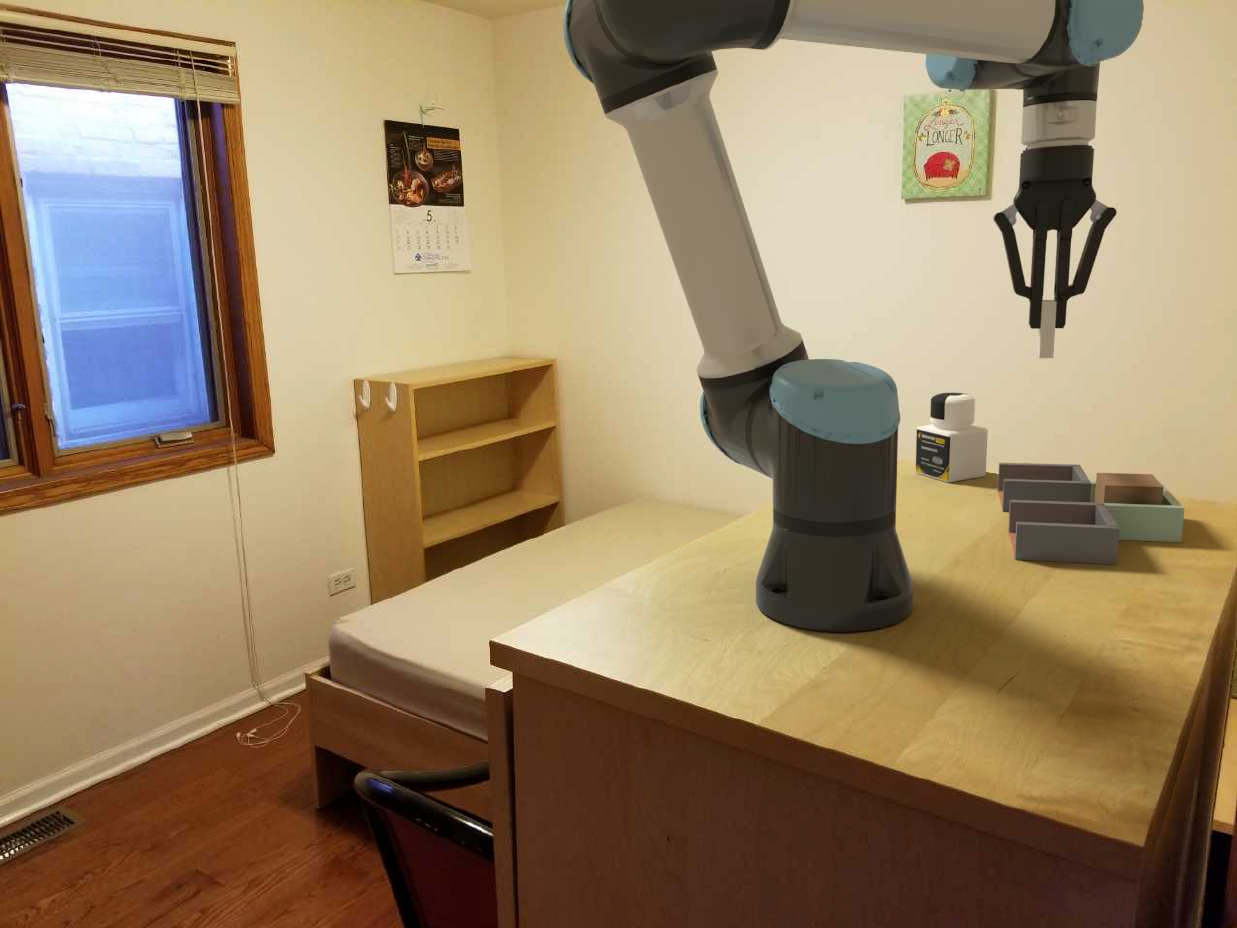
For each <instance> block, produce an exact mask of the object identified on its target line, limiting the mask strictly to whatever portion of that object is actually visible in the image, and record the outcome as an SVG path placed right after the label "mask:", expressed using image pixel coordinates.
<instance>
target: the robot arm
mask: <svg viewBox="0 0 1237 928" xmlns="http://www.w3.org/2000/svg"><path fill="white" fill-rule="evenodd" d="M1144 11H1145V7H1144V0H566V3H565V8H564V13H563V21H562V22H563V23H562V24H563V25H562V27H563V28H562V30H563V38H564V43H565V47H566V49H567V53H568V55H569V58H570V60H571V61H572V64H573V65H574V66H575V68H576V70H578V72H579V73H580V74H581V75H582V76H583V77H584V78H585V79H586V80H588V81H589V82H590V83H591V84H592V85H594V88H595V90H596V93H597V96H598V100H599V102H600V105H601V107H602V111H603V114H604V116H605V118H606V119H608V120H610V121H612V122H615V124H618V125H620V126H622V128H624V129H625V130H626V132H627V135H628V137H629V140H630V143H631V145H632V148H633V151H634V155H635V157H636V159H637V163H638V166H639V169H640V172H641V174H642V177H643V181H644V182H645V186H646V188H647V191H648V195H649V198H650V199H651V203H652V206H653V208H654V211H655V215H656V217H657V220H658V222H659V226H660V228H661V231H662V234H663V236H664V240H665V242H666V245H667V248H668V251H669V253H670V257H671V259H672V263H673V265H674V268H675V271H676V273H677V276H678V279H679V282H680V285H681V287H682V291H683V293H684V294H683V295H684V297H685V299H686V302H687V305H688V308H689V310H690V315H691V316H692V317H691V318H692V319H693V322H694V325H695V328H696V331H697V333H698V336H699V339H700V342H701V346H702V349H703V355H702V357H701V359H700V361H699V363H698V365H697V366H696V374H697V376H698V379H699V382H700V385H701V388H702V391H703V392H702V395H701V397H700V402H699V403H700V404H699V414H700V420H701V423H702V427H703V430H704V432H705V434H706V436H707V438H708V440H709V441H710V442H711V443H712V445H714V447H716V449H718V451H720V452H721V453H722V454H723V455H724V456H725V457H727V458H729V460H730V461H733V462H734V463H736V464H739V465H742V466H744V467H746V468H749V469H751V470H753V471H756V472H758V473H760V474H762V475H764V476H766V477H769V478H771V479H772V528H771V532H770V536H769V539H768V542H767V546H766V548H765V551H764V554H763V557H762V561H761V563H760V565H759V568H758V572H757V575H756V578H755V579H756V581H755V603H756V604H755V605H756V606H757V608H758V609H759V610H760V612H762V613H763V614H764V615H766V616H768V617H769V618H770V619H772V620H775V621H777V622H780V623H783V624H786V625H789V626H793V627H796V628H802V629H806V630H812V631H824V632H837V633H838V632H840V633H841V632H843V633H845V632H863V631H871V630H876V629H880V628H881V629H882V628H885V627H888V626H892V625H894V624H897V623H899V622H901V621H903V620H904V619H906V618H907V617H908V616H910V614H911V613H912V611H913V609H914V608H913V607H914V584H913V581H912V577H911V574H910V571H909V568H908V564H907V560H906V559H905V555H904V551H903V549H902V546H901V542H900V539H899V537H898V533H897V526H896V524H897V523H896V521H897V519H896V518H897V491H898V490H897V488H898V487H897V486H898V478H897V477H898V449H899V448H898V446H899V445H898V444H899V443H898V441H899V425H900V423H901V414H900V413H901V412H900V405H899V394H898V393H899V392H898V387H897V384H896V381H895V379H893V377H892V376H891V375H890V374H889V373H887V372H886V371H885V370H883V369H880V368H879V367H875V366H873V365H870V364H867V363H862V362H860V361H859V362H858V361H845V360H843V359H836V358H835V359H833V358H813V359H811V358H810V357H809V355H808V351H807V349H806V346H805V343H804V342H805V341H804V340H803V337H802V334H801V333H800V332H799V331H796V330H794V329H793V328H790V327H788V326H786V325H785V324H783V322H782V320H781V317H780V313H779V311H778V307H777V304H776V301H775V298H774V295H773V292H772V288H771V286H770V283H769V282H770V281H769V280H768V276H767V273H766V270H765V266H764V264H763V261H762V258H761V255H760V251H759V248H758V245H757V242H756V239H755V238H756V237H755V236H754V233H753V229H752V226H751V223H750V220H749V217H748V214H747V210H746V207H745V204H744V202H743V198H742V194H741V191H740V189H739V185H738V182H737V179H736V176H735V173H734V170H733V167H732V164H731V161H730V157H729V154H728V151H727V148H726V146H725V145H726V144H725V142H724V139H723V135H722V133H721V129H720V127H719V124H718V119H717V117H716V114H715V111H714V108H713V105H712V101H711V98H710V94H711V90H712V87H713V86H714V83H715V81H716V79H717V76H718V74H719V71H718V68H717V65H716V62H715V58H714V55H713V54H714V53H713V52H715V51H719V50H729V49H750V50H761V51H766V50H768V49H771V48H772V47H773V46H774V45H775V44H776V43H777V42H779V40H788V41H797V42H807V43H817V44H825V45H826V44H828V45H836V46H843V47H844V46H845V47H846V46H847V47H855V48H864V49H865V48H866V49H875V50H885V51H891V52H893V51H894V52H903V53H913V54H922V55H925V68H926V72H927V75H928V77H929V80H930V81H931V82H932V83H933V85H934V86H936V87H938V88H940V89H946V90H956V91H957V90H959V92H965V91H970V90H971V91H972V90H979V91H980V90H1017V91H1019V90H1022V97H1023V98H1022V101H1023V102H1022V118H1021V137H1020V139H1021V140H1020V143H1021V144H1022V146H1026V147H1025V149H1024V150H1022V153H1020V157H1019V158H1020V161H1019V178H1018V179H1019V182H1018V189H1017V192H1016V194H1015V195H1014V197H1013V201H1012V204H1010V205H1009V206H1007V207H1006V208H1004V209H1003V210H1001V211H999V212H996V213H995V214H994V215H993V217H992V219H993V223H995V225H996V226H997V228H998V229H999V231H1000V232H1001V236H1002V239H1003V245H1004V250H1005V254H1006V261H1007V263H1008V269H1009V273H1010V274H1009V275H1010V278H1011V283H1012V289H1013V292H1014V293H1015V294H1016V295H1017V296H1020V297H1023V298H1026V299H1028V300H1029V312H1028V314H1029V315H1028V325H1029V328H1030V329H1034V330H1035V329H1036V330H1037V329H1038V330H1037V331H1038V332H1037V334H1038V335H1037V351H1036V356H1037V357H1038V359H1054V355H1055V354H1054V351H1055V350H1054V349H1055V337H1056V336H1055V335H1056V329H1064V327H1065V326H1066V321H1067V308H1068V307H1067V305H1068V301H1069V300H1070V299H1071V298H1073V297H1076V296H1078V295H1082V294H1084V293H1085V291H1086V289H1087V286H1088V282H1089V281H1090V277H1091V274H1092V272H1093V271H1092V270H1093V268H1094V264H1095V262H1096V259H1097V255H1098V252H1099V249H1100V246H1101V245H1102V240H1103V237H1104V234H1105V231H1106V229H1107V227H1108V226H1109V225H1110V223H1111V222H1112V221H1113V220H1114V218H1115V217H1116V215H1117V214H1118V212H1117V209H1116V208H1115V207H1112V206H1111V207H1109V206H1107V205H1106V204H1105V203H1102V202H1101V201H1099V200H1097V193H1096V191H1095V190H1094V186H1093V174H1094V160H1095V159H1094V157H1095V148H1093V146H1092V145H1089V143H1090V142H1091V141H1093V140H1094V139H1095V137H1096V124H1097V123H1096V122H1097V121H1096V120H1097V108H1098V107H1097V103H1098V102H1097V101H1098V93H1099V92H1098V90H1099V82H1100V81H1099V78H1100V67H1101V62H1104V61H1107V60H1111V59H1113V58H1116V57H1118V56H1121V55H1122V54H1124V53H1125V52H1126V51H1127V50H1128V49H1129V48H1130V47H1131V46H1132V45H1133V44H1134V43H1135V41H1136V40H1137V38H1138V36H1139V34H1140V31H1141V29H1142V25H1143V19H1144ZM1089 210H1090V211H1091V213H1090V216H1089V219H1090V221H1091V222H1092V224H1091V226H1090V228H1089V231H1088V234H1087V237H1086V240H1085V243H1084V247H1083V250H1082V253H1081V256H1080V258H1079V262H1078V264H1077V269H1076V271H1075V274H1074V277H1073V280H1072V282H1071V284H1069V283H1070V280H1069V279H1070V270H1071V269H1070V266H1071V249H1072V248H1071V247H1072V239H1073V229H1074V228H1076V226H1077V225H1078V224H1079V223H1080V222H1081V220H1082V219H1083V218H1084V217H1085V215H1086V214H1087V212H1089ZM1017 212H1018V214H1019V216H1021V218H1022V219H1023V221H1024V222H1025V223H1026V225H1027V226H1028V227H1029V228H1030V229H1031V230H1032V249H1031V265H1030V266H1031V267H1030V269H1031V270H1030V284H1029V285H1030V286H1028V285H1026V280H1025V275H1024V271H1023V265H1022V261H1021V256H1020V251H1019V246H1018V241H1017V237H1016V232H1015V229H1014V227H1013V226H1015V225H1016V224H1017V215H1016V214H1017ZM1050 231H1056V248H1055V250H1056V253H1055V266H1054V267H1055V270H1054V285H1053V286H1054V289H1053V299H1043V298H1044V288H1045V286H1044V285H1045V271H1046V255H1047V254H1046V253H1047V240H1048V232H1050Z"/></svg>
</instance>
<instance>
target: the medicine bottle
mask: <svg viewBox="0 0 1237 928" xmlns="http://www.w3.org/2000/svg"><path fill="white" fill-rule="evenodd" d="M975 404H976V399H975V397H974V396H972V395H970V394H968V393H963V392H942V393H937V394H935V395H933V396H932V397H931V399H930V411H929V412H930V416H929V420H930V421H929V422H930V423H931V424H926V425H919V426H917V427H916V440H915V441H916V444H915V473H916V474H918V475H921V476H925V477H927V478H931V479H935V480H936V481H937V480H938V481H941V482H945V483H948V484H949V483H955V482H960V481H966V480H973V479H977V478H983V477H986V475H987V457H988V454H987V453H988V433H989V432H988V431H989V430H988V428H986V427H981V426H975V425H972V424H974V423H975V408H976V407H975V406H976V405H975Z"/></svg>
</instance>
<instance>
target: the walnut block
mask: <svg viewBox="0 0 1237 928" xmlns="http://www.w3.org/2000/svg"><path fill="white" fill-rule="evenodd" d="M1095 477H1096V479H1095V482H1096V490H1095V503H1117V504H1146V505H1162V499H1163V488H1164V487H1163V486H1162V485H1161V484H1160V483H1161V482H1160V481H1159V480H1158V479H1157V478H1156V476H1155V475H1153V474H1151V473H1150V474H1149V473H1118V472H1117V473H1116V472H1096V476H1095Z"/></svg>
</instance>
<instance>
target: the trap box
mask: <svg viewBox="0 0 1237 928" xmlns="http://www.w3.org/2000/svg"><path fill="white" fill-rule="evenodd" d="M1088 477H1089V476H1088V475H1087V474H1086V473H1085V471H1084V469H1083V468H1082V465H1081V464H1068V463H1030V462H1029V463H1028V462H1027V463H1025V462H998V479H997V493H998V496H999V501H1000V505H1001V509H1003V510H1002V512H1008V511H1009V512H1008V528H1007V529H1008V536H1009V540H1010V541H1009V542H1010V544H1011V548H1012V552H1013V556H1014V560H1021V561H1041V562H1055V563H1056V562H1058V563H1059V562H1060V563H1079V564H1094V565H1117V564H1118V553H1119V551H1118V550H1119V541H1140V542H1141V541H1142V542H1160V543H1182V541H1183V540H1182V538H1183V528H1184V527H1183V526H1184V516H1185V507H1184V506H1183V504H1182V503H1181V502H1180V501H1179V500H1178V499H1177V498H1176V497H1175V496H1174V495H1173V494H1172V492H1171V491H1170V490H1169V489H1168V488H1167V487H1166V485H1164V483H1163V482H1162V483H1161V482H1160V484H1161V485H1162V486H1163V487H1164V488H1163V499H1162V505H1146V504H1117V503H1095V490H1096V481H1090V479H1089V478H1088Z"/></svg>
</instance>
